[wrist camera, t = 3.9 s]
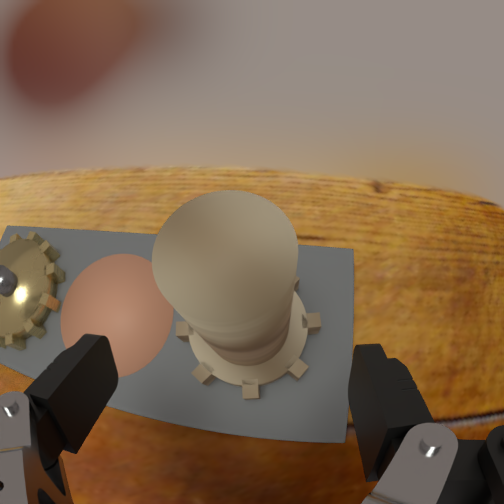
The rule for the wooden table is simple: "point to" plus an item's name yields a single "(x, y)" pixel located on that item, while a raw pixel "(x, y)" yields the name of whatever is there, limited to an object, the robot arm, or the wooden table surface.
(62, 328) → the gear board
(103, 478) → the wooden table surface
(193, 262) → the beech gear spindle
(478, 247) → the wooden table surface
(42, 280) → the brass gear
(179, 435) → the wooden table surface
